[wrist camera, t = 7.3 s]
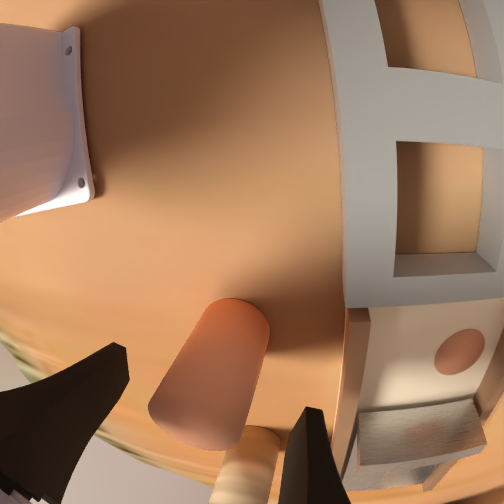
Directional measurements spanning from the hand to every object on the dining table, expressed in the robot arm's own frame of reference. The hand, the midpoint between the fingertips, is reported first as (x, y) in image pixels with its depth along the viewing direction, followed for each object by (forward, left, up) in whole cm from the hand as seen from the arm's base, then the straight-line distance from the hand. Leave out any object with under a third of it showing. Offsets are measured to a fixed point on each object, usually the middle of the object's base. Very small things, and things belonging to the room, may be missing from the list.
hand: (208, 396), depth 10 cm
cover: (+10, +10, -3) cm, 15 cm away
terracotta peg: (0, 0, -4) cm, 4 cm away
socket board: (-10, +9, -4) cm, 14 cm away
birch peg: (+10, 0, -4) cm, 11 cm away
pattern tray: (+7, +10, -4) cm, 13 cm away
